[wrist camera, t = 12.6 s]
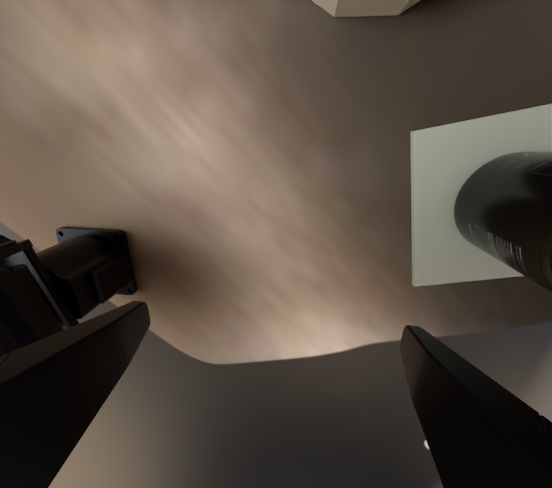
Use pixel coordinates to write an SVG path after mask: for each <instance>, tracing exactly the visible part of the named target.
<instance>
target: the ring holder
mask: <svg viewBox="0 0 552 488" xmlns="http://www.w3.org/2000/svg"><path fill="white" fill-rule="evenodd" d="M311 1H313V2H314V3H316V4H317V5H318V6H320V7H321V8H322V9H324V10H325V11H327V12H328V13H329V14H331V15H332V16H334V17H359V16H392V15H399V14H401V13H402V12H404V11H405V10H407V9H408V8H410V7H411V6H413V5H414V4H416V3H418V2H419V1H421V0H311Z"/></svg>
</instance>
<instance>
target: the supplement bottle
mask: <svg viewBox="0 0 552 488" xmlns="http://www.w3.org/2000/svg"><path fill="white" fill-rule="evenodd" d="M454 220H455V224H456V227H457V229H458V230H459V232H460V234H461V235H462V236H463V237H464V238H465V239H466V240H467V241H468V242H470V243H471V244H473V245H474V246H476V247H477V248H479V249H480V250H482V251H484V252H485V253H487V254H489V255H491V256H492V257H494V258H496V259H497V260H499V261H501V262H502V263H504V264H506V265H507V266H509V267H511V268H512V269H514V270H516V271H517V272H519V273H521V274H522V275H524V276H526V277H527V278H529V279H531V280H532V281H534V282H536V283H537V284H539V285H541V286H542V287H544V288H546V289H548V290H549V291H551V292H552V152H516V153H510V154H506V155H503V156H500V157H497V158H495V159H493V160H491V161H489V162H487V163H485V164H484V165H482V166H481V167H480V168H478V169H477V170H476V171H475V172H474V173H473V174H472V175H470V177H469V178H468V179H467V180H466V181H465V183H464V184H463V185H462V187H461V189H460V191H459V193H458V195H457V197H456V200H455V205H454Z"/></svg>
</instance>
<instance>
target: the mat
mask: <svg viewBox="0 0 552 488" xmlns="http://www.w3.org/2000/svg"><path fill="white" fill-rule="evenodd" d="M516 152H552V104H547V105H542V106H537V107H532V108H527V109H522V110H517V111H512V112H507V113H502V114H497V115H492V116H487V117H482V118H477V119H471V120H466V121H461V122H456V123H451V124H446V125H441V126H436V127H431V128H426V129H421V130H416V131H411V222H412V284H413V286H414V287H417V286H427V285H437V284H447V283H457V282H467V281H478V280H488V279H498V278H508V277H518V276H524V275H522V274H521V273H519V272H517V271H516V270H514V269H512V268H511V267H509V266H507V265H506V264H504V263H502V262H501V261H499V260H497V259H496V258H494V257H492V256H491V255H489V254H487V253H485V252H484V251H482V250H480V249H479V248H477V247H476V246H474V245H473V244H471V243H470V242H468V241H467V240H466V239H465V238H464V237H463V236H462V235H461V234H460V232H459V230H458V229H457V227H456V224H455V220H454V205H455V200H456V197H457V195H458V193H459V191H460V189H461V187H462V185H463V184H464V183H465V181H466V180H467V179H468V178H469V177H470V175H472V174H473V173H474V172H475V171H476V170H477V169H478V168H480V167H481V166H482V165H484V164H485V163H487V162H489V161H491V160H493V159H495V158H497V157H500V156H503V155H506V154H510V153H516Z"/></svg>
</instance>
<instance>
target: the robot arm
mask: <svg viewBox="0 0 552 488" xmlns="http://www.w3.org/2000/svg"><path fill="white" fill-rule="evenodd" d="M56 235H57V238H58V241H59V244H57V245H55V246H52V247H50V248H47V249H45V250H42V251H40V252H38V253H35V251H34V250H33V248H32V246H33V245H32V243H31V242H30V240H29V239H27V240H23V241H19V242H16V241H15V240H14V241H13V240H10V239H8V238H6V237H4V236H3V235H0V488H48V487H49V485H50V484H51V482H52V481H53V479H54V478H55V476H56V475H57V473H58V472H59V470H60V468H61V467H62V466H63V464H64V463H65V461H66V460H67V458H68V457H69V455H70V454H71V452H72V451H73V449H74V448H75V446H76V445H77V443H78V441H79V440H80V438H81V437H82V435H83V434H84V432H85V431H86V429H87V428H88V426H89V425H90V423H91V422H92V420H93V419H94V417H95V416H96V414H97V413H98V411H99V410H100V408H101V407H102V405H103V404H104V402H105V401H106V399H107V398H108V396H109V395H110V393H111V391H112V390H113V389H114V387H115V385H116V384H117V382H118V381H119V379H120V378H121V376H122V375H123V373H124V372H125V370H126V369H127V367H128V365H129V364H130V362H131V360H132V358H133V356H134V355H135V352H136V351H137V349H138V347H139V345H140V343H141V341H142V340H143V338H144V336H145V334H146V332H147V330H148V328H149V326H150V316H149V311H148V306H147V304H146V303H145V302H141V301H133V302H130V303H128V304H126V305H123V306H121V307H118V308H116V309H114V310H111V311H109V312H107V313H104V314H102V315H99V316H97V317H95V318H92V319H90V320H87V321H85V322H82V323H80V324H79V322H78V321H77V319H81V318H83V317H84V316H85V315H87V314H88V313H89V312H90V311H91V310H93V309H94V308H96V307H97V306H98V305H99V304H103V303H105V302H106V301H107V300H109V299H110V298H111V297H112V296H114V295H115V294H124V295H133V294H134V293H136V291H137V286H136V282H135V277H134V272H133V267H132V263H131V258H130V253H129V249H128V244H127V239H126V235H125V233H124V232H123V231H121V230H107V229H90V228H73V227H61V228H58V229H56ZM118 235H119V236H120V238H119V237H118ZM130 289H131V290H130ZM400 354H401V358H402V362H403V366H404V370H405V375H406V378H407V382H408V387H409V391H410V394H411V398H412V401H413V404H414V407H415V410H416V413H417V416H418V418H419V421H420V424H421V426H422V429H423V432H424V434H425V438H426V440H427V443H428V446H429V449H430V451H431V454H432V457H433V460H434V462H435V465H436V468H437V471H438V474H439V476H440V479H441V482H442V485H443V488H552V422H551V421H549V420H548V419H547V418H545V417H544V416H542V415H541V416H540V415H539V413H538V412H537V411H535V410H534V409H532V408H531V407H530V406H528V405H527V404H526V403H524V402H523V401H522V400H520V399H519V398H517V397H516V396H515V395H513V394H512V393H511V392H509V391H508V390H506V389H505V388H503V387H502V386H501V385H499V384H498V383H497V382H495V381H494V380H492V379H491V378H490V377H488V376H487V375H486V374H484V373H483V372H482V371H480V370H479V369H477V368H476V367H475V366H473V365H472V364H470V363H469V362H468V361H466V360H465V359H464V358H462V357H461V356H459V355H458V354H457V353H455V352H454V351H452V350H451V349H450V348H448V347H447V346H446V345H444V344H443V343H442V342H440V341H439V340H437V339H436V338H435V337H433V336H432V335H431V334H429V333H428V332H426V331H425V330H424V329H422V328H421V327H419V326H410V325H407V326H405V328H404V330H403V334H402V338H401V342H400Z"/></svg>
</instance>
